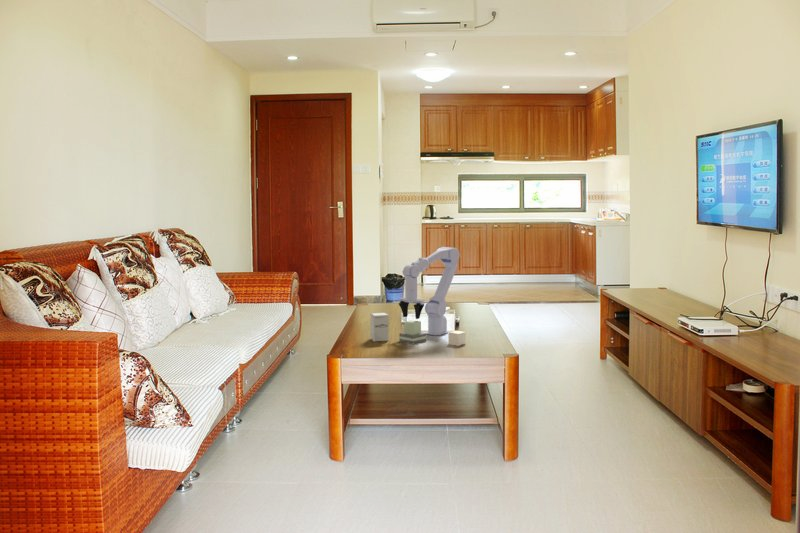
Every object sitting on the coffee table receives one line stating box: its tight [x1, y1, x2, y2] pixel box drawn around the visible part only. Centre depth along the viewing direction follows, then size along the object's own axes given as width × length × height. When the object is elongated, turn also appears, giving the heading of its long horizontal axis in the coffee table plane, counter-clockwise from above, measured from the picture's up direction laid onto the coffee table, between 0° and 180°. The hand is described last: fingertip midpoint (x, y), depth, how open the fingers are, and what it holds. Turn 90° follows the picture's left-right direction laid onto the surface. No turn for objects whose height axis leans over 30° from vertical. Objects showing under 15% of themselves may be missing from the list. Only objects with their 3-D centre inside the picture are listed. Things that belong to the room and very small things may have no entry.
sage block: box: [403, 320, 422, 335], centre depth 322 cm, size 6×6×6 cm
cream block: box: [448, 330, 466, 347], centre depth 316 cm, size 6×6×6 cm
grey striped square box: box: [398, 331, 427, 345], centre depth 323 cm, size 9×9×4 cm
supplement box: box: [369, 312, 390, 343], centre depth 325 cm, size 7×7×13 cm
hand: (411, 317), depth 329 cm, fingers open, 7 cm apart
